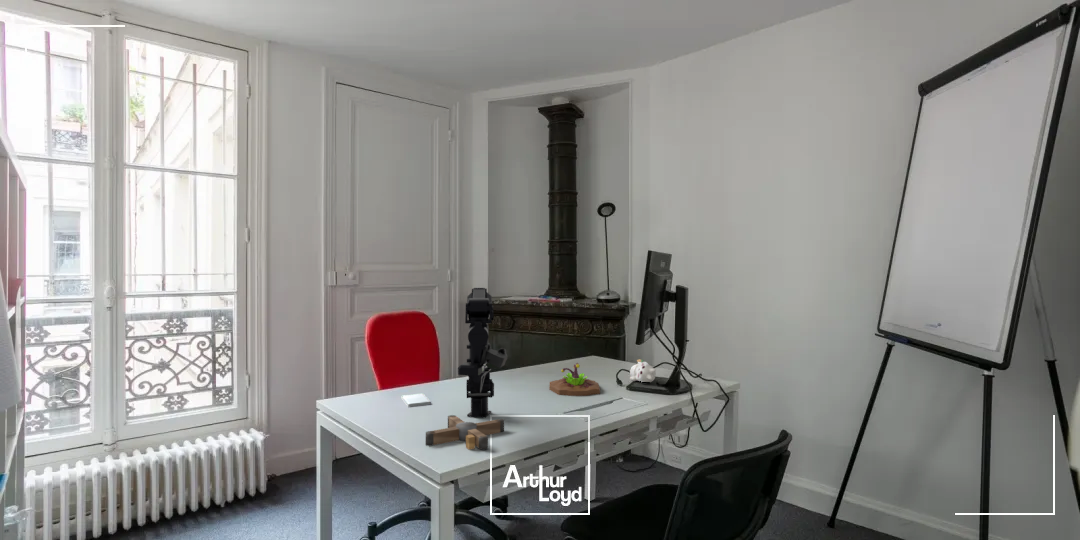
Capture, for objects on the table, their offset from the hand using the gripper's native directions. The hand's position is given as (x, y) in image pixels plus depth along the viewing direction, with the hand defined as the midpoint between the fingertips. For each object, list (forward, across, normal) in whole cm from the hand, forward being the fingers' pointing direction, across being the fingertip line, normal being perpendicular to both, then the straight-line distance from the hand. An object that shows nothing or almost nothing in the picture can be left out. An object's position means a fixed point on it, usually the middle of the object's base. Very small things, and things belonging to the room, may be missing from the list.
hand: (478, 392), depth 166 cm
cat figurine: (+12, +77, -44) cm, 89 cm away
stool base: (+12, -4, +3) cm, 13 cm away
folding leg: (+12, -10, -4) cm, 16 cm away
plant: (+13, +58, -19) cm, 62 cm away
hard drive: (+13, +27, +34) cm, 45 cm away
